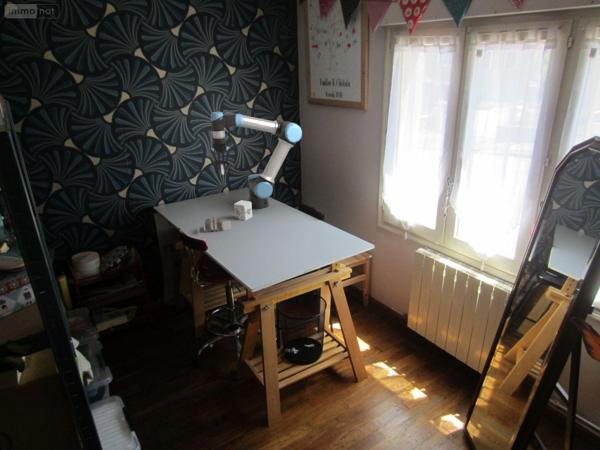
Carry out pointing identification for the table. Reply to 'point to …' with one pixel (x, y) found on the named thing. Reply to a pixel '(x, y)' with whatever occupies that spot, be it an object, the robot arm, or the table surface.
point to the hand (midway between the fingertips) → (222, 174)
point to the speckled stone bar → (225, 225)
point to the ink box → (243, 210)
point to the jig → (208, 221)
